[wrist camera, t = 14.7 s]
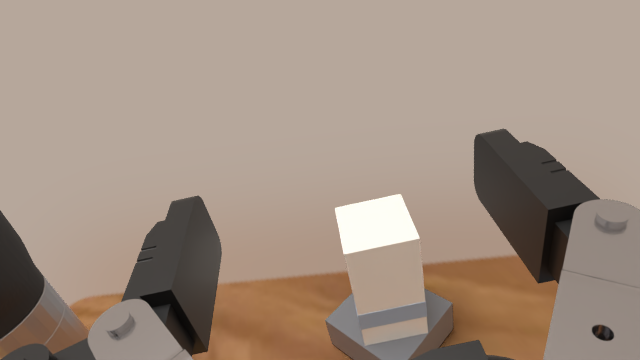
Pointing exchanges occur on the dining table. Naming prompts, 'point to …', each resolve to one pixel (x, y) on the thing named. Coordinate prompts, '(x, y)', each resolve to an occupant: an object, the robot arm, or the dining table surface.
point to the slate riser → (392, 354)
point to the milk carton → (384, 268)
